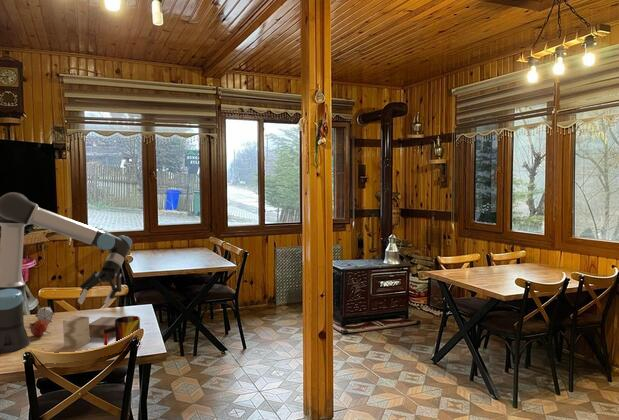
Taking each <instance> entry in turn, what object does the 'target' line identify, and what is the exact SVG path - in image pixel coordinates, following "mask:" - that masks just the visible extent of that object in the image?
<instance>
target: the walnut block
mask: <svg viewBox="0 0 619 420" xmlns="http://www.w3.org/2000/svg"><path fill="white" fill-rule="evenodd" d="M120 317H121V316H120ZM120 317H118V316H101V317H99V318H97V319H95V320H94V321H92V322H89V335H90V338H93V339H95V338H99V339H104V329H108V328H112V327H115V320H116V319H117V318H120ZM107 339H116V336H115V331H114V332H110V333H107Z"/></svg>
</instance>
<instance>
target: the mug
mask: <svg viewBox="0 0 619 420" xmlns="http://www.w3.org/2000/svg"><path fill="white" fill-rule="evenodd" d="M138 329H140V330H141V319H140V316H136V315H126V316H120V318H117V319H116V320H115V327H112V328H108V329H104V338H103V346H104V345H107V344H108V345H109V343H108V342H109V341H108V338H107V333H110V332H114V331H115V336H116V337H115V342H116V341H118V340H120V339H122V338H124V337H126V336H128V335H130V334H131V333H133V332H134V331H136V330H138ZM139 345H141V341H140V342H139Z"/></svg>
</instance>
